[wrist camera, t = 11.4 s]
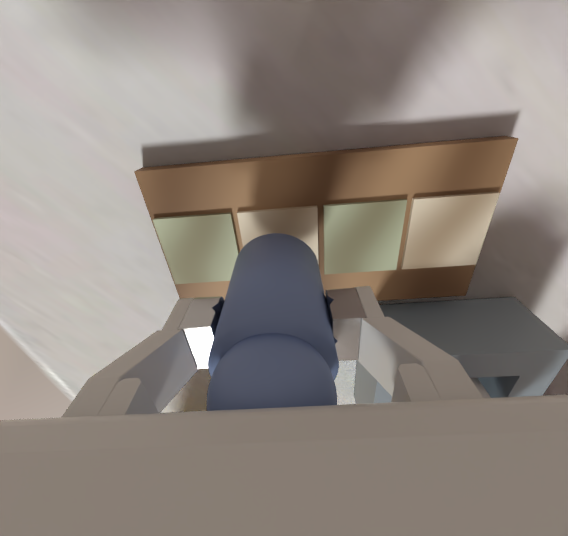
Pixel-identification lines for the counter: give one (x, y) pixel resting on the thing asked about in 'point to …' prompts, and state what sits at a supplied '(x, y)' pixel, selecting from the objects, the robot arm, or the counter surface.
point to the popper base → (480, 345)
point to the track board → (335, 214)
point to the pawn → (273, 331)
